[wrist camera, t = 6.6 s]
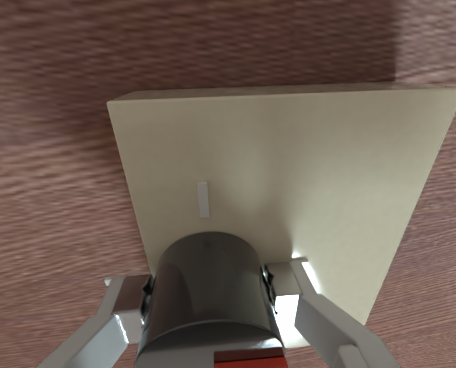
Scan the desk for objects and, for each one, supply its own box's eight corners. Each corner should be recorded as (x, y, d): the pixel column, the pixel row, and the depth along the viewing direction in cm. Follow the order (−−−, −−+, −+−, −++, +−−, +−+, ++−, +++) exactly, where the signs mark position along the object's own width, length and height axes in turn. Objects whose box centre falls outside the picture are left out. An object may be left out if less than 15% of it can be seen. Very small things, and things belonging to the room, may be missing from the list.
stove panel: (86, 92, 9) (32, 105, 6) (396, 81, 10) (473, 87, 7) (151, 314, 15) (140, 369, 13) (334, 295, 16) (360, 343, 13)
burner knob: (162, 307, 11) (143, 420, 7) (150, 232, 8) (114, 342, 5) (256, 301, 11) (278, 406, 8) (265, 228, 9) (302, 327, 6)
